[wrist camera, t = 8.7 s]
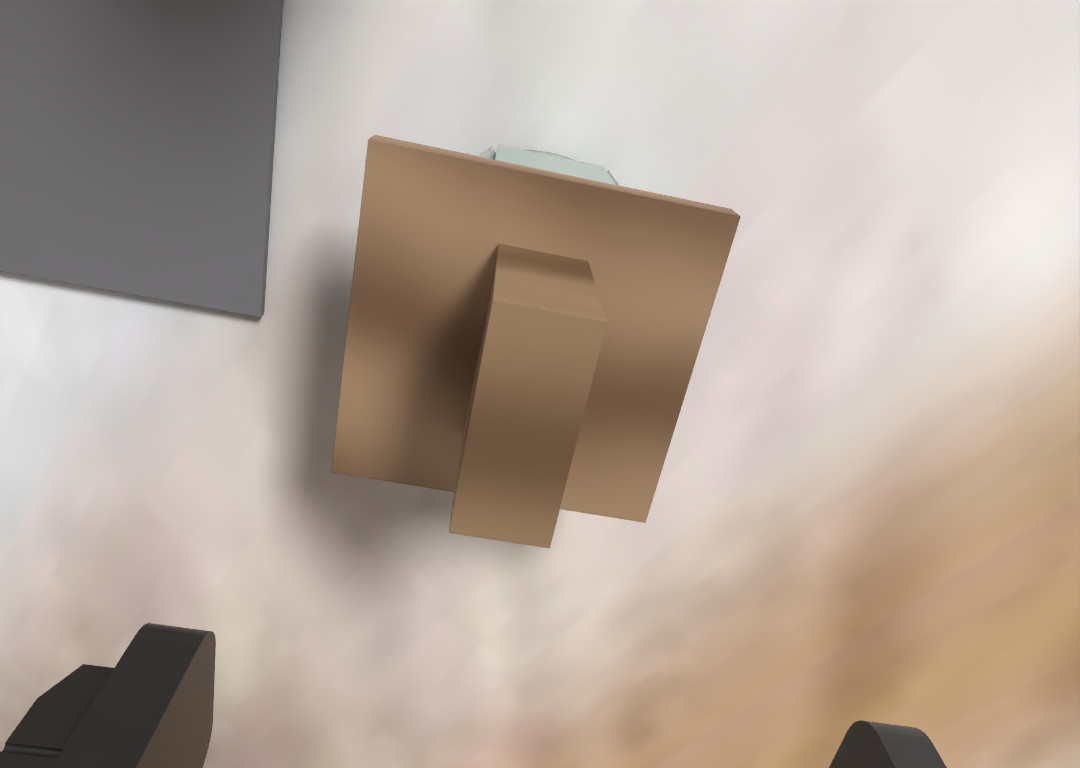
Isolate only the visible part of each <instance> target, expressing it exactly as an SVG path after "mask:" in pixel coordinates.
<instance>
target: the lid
mask: <svg viewBox="0 0 1080 768" xmlns="http://www.w3.org/2000/svg"><path fill="white" fill-rule="evenodd" d="M739 220H740V216H739V215H738V214H737V213H735V212H734V211H733V210H732V209H728V208H723V207H719V206H714V205H709V204H704V203H699V202H695V201H690V200H685V199H680V198H675V197H671V196H666V195H661V194H656V193H651V192H646V191H642V190H637V189H632V188H627V187H622V186H618V185H613V184H608V183H603V182H598V181H594V180H589V179H584V178H579V177H574V176H570V175H565V174H560V173H555V172H550V171H546V170H541V169H536V168H531V167H526V166H522V165H517V164H512V163H507V162H502V161H498V160H493V159H488V158H483V157H478V156H474V155H469V154H464V153H459V152H454V151H450V150H445V149H440V148H435V147H430V146H426V145H421V144H416V143H411V142H406V141H401V140H397V139H392V138H387V137H382V136H377V135H374V136H373V137H371V138H370V139H368V147H367V156H366V165H365V174H364V183H363V192H362V201H361V210H360V219H359V228H358V237H357V246H356V255H355V264H354V273H353V282H352V291H351V300H350V309H349V318H348V327H347V336H346V345H345V354H344V363H343V372H342V381H341V390H340V399H339V408H338V417H337V426H336V435H335V444H334V452H333V461H332V470H331V472H334V473H340V474H347V475H353V476H359V477H365V478H371V479H378V480H384V481H390V482H396V483H402V484H408V485H415V486H421V487H427V488H433V489H439V490H446V491H452V492H455V493H454V500H453V507H452V514H451V521H450V528H449V533H454V534H461V535H467V536H474V537H480V538H487V539H493V540H499V541H506V542H512V543H519V544H525V545H532V546H538V547H544V548H550V545H551V541H552V537H553V533H554V529H555V525H556V521H557V517H558V513H559V510H560V509H563V510H570V511H576V512H582V513H588V514H594V515H601V516H607V517H613V518H619V519H625V520H632V521H638V522H644V523H645V522H646V519H647V516H648V513H649V509H650V506H651V503H652V500H653V497H654V493H655V490H656V487H657V484H658V480H659V477H660V474H661V471H662V468H663V464H664V461H665V458H666V455H667V451H668V448H669V445H670V442H671V439H672V435H673V432H674V429H675V426H676V422H677V419H678V416H679V413H680V410H681V406H682V403H683V400H684V397H685V394H686V390H687V387H688V384H689V381H690V377H691V374H692V371H693V368H694V365H695V361H696V358H697V355H698V352H699V348H700V345H701V342H702V339H703V336H704V332H705V329H706V326H707V323H708V319H709V316H710V313H711V310H712V307H713V303H714V300H715V297H716V294H717V290H718V287H719V284H720V281H721V278H722V274H723V271H724V268H725V265H726V261H727V258H728V255H729V252H730V249H731V245H732V242H733V239H734V236H735V233H736V229H737V226H738V223H739Z"/></svg>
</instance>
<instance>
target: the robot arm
mask: <svg viewBox="0 0 1080 768" xmlns="http://www.w3.org/2000/svg"><path fill="white" fill-rule="evenodd" d="M215 647H216V640H215V635H214V633H213V632H211V631H204V630H196V629H189V628H181V627H174V626H166V625H159V624H151V623H147V624H145V625H144V626H142V628H141V629H140V630H139V631H138V632H137V634H136V635H135V637H134V638H133V640H132V641H131V643H130V645H129V646H128V648H127V649H126V651H125V652H124V654H123V656H122V657H121V659H120V660H119V662H118V663H117V665H116V667H115V668H109V667H101V666H93V665H85V664H83V665H82V666H80V667H79V668H78V669H76V670H75V671H74V672H72V673H71V674H70V675H68V676H67V677H66V678H64V679H63V680H62V681H60V682H59V683H57V684H56V685H55V686H53V687H52V688H51V689H49V690H48V691H47V692H45V693H44V694H43V695H41V696H40V697H39V698H37V700H36V701H35V702H34V704H33V705H32V707H31V708H30V709H29V711H28V712H27V713H26V715H25V716H24V718H23V719H22V720H21V722H20V723H19V725H18V726H17V727H16V729H15V730H14V731H13V733H12V734H11V736H10V737H9V738H8V740H7V741H6V742H5V747H4V749H3V751H2V752H0V768H202V767H203V764H204V761H205V758H206V754H207V750H208V746H209V742H210V737H211V731H212V723H213V699H214V673H215ZM829 768H947V767H946V766H945V764H944V762H943V761H942V759H941V757H940V755H939V754H938V752H937V750H936V749H935V747H934V745H933V743H932V742H931V740H930V739H929V737H928V736H927V735H926V734H925V733H924V732H922V731H921V730H919V729H917V728H913V727H905V726H898V725H890V724H883V723H875V722H868V721H857V722H855V723H853V724H852V725H851V727H850V728H849V730H848V731H847V733H846V735H845V737H844V739H843V741H842V743H841V745H840V747H839V749H838V751H837V753H836V755H835V757H834V759H833V761H832V763H831V765H830V767H829Z"/></svg>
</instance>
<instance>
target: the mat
mask: <svg viewBox="0 0 1080 768" xmlns="http://www.w3.org/2000/svg"><path fill="white" fill-rule="evenodd" d="M282 4H283V0H0V271H3V272H8V273H14V274H20V275H25V276H31V277H37V278H42V279H48V280H54V281H59V282H65V283H71V284H76V285H82V286H88V287H93V288H99V289H105V290H110V291H116V292H122V293H127V294H133V295H139V296H144V297H150V298H155V299H161V300H167V301H172V302H178V303H184V304H189V305H195V306H201V307H206V308H212V309H218V310H223V311H229V312H235V313H240V314H246V315H252V316H257V317H261V316H262V315H263V314H264V305H265V288H266V271H267V254H268V238H269V221H270V204H271V188H272V171H273V154H274V137H275V121H276V104H277V87H278V71H279V54H280V37H281V21H282Z"/></svg>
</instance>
